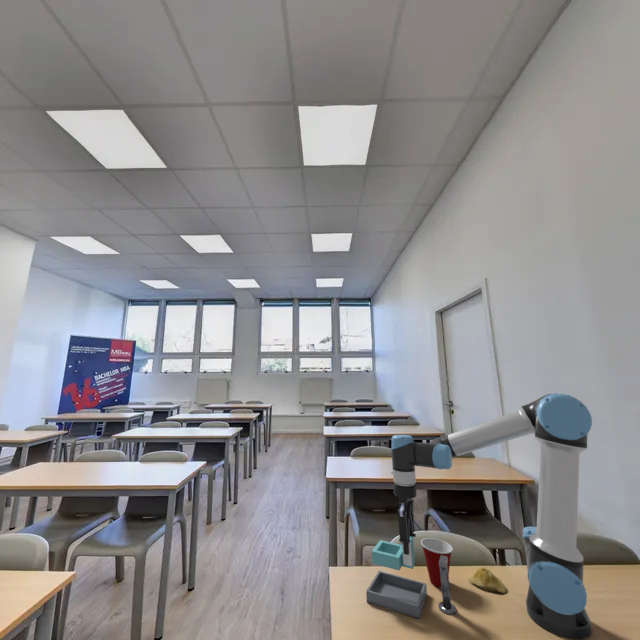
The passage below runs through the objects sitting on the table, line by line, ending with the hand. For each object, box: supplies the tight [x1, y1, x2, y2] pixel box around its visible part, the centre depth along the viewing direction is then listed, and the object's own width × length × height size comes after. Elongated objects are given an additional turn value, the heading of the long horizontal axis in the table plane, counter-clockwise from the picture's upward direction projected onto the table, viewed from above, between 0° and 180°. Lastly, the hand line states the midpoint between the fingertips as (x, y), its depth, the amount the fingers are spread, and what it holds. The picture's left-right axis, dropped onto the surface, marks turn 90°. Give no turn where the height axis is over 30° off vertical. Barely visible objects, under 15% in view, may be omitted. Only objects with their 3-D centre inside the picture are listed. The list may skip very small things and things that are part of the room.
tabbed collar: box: [371, 536, 416, 571], centre depth 103 cm, size 12×9×8 cm
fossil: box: [468, 567, 508, 595], centre depth 107 cm, size 11×6×10 cm
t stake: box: [438, 555, 457, 616], centre depth 96 cm, size 5×5×13 cm
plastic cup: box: [420, 537, 454, 589], centre depth 109 cm, size 11×11×12 cm
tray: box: [365, 570, 428, 620], centre depth 100 cm, size 16×13×3 cm
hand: (409, 561), depth 100 cm, fingers closed on tabbed collar, 3 cm apart
